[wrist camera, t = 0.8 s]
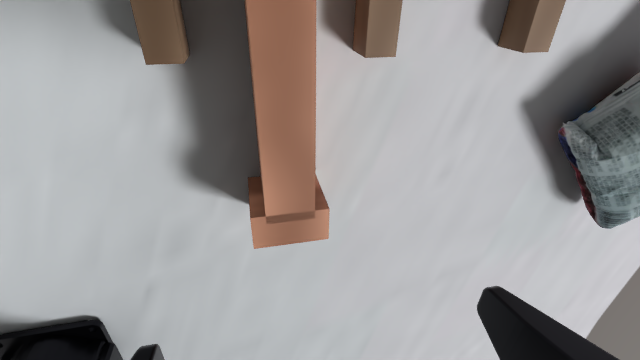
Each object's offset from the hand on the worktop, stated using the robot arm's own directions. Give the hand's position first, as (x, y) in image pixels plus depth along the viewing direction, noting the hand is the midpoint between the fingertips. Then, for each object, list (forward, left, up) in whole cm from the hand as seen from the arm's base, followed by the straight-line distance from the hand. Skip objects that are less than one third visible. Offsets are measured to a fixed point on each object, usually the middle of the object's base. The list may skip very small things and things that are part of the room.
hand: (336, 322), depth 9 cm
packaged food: (+24, -1, -12) cm, 27 cm away
